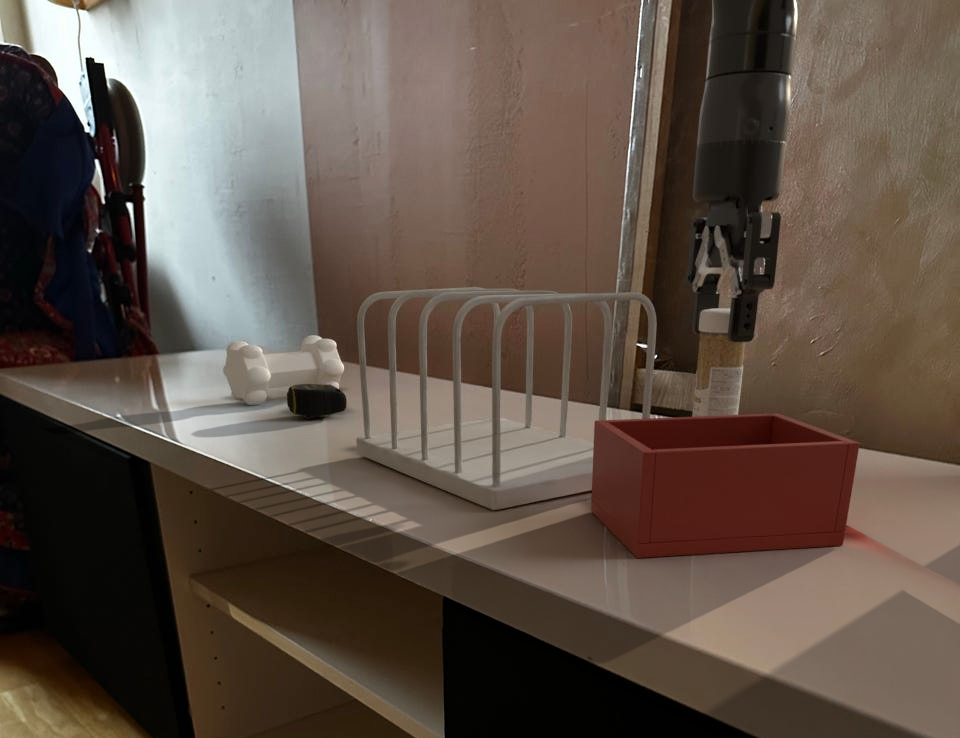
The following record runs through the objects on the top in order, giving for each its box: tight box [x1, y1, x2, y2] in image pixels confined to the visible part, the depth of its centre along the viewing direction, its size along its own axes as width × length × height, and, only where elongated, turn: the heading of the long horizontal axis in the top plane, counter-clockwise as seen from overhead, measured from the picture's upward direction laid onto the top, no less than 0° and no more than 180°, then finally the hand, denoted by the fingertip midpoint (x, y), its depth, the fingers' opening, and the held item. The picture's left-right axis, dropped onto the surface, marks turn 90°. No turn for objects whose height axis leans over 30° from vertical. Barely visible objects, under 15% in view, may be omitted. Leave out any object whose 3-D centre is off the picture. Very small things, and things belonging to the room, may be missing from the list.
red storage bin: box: [590, 412, 861, 559], centre depth 62 cm, size 15×12×7 cm
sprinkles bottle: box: [691, 307, 746, 417], centre depth 84 cm, size 5×5×14 cm
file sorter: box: [355, 286, 658, 511], centre depth 78 cm, size 25×17×16 cm
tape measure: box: [286, 384, 348, 420], centre depth 108 cm, size 7×7×4 cm
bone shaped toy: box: [222, 334, 345, 406], centre depth 121 cm, size 15×9×8 cm, turn 132°
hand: (721, 337), depth 82 cm, fingers open, 8 cm apart
